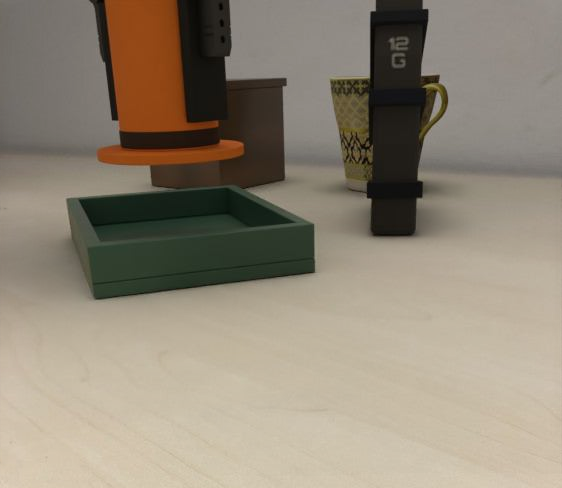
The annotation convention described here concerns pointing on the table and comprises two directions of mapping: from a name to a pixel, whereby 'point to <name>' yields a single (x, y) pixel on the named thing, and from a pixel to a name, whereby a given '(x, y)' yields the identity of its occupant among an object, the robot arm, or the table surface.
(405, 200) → the magazine
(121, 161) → the hat
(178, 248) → the tray
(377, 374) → the table surface
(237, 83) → the stand
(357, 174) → the ceramic cup
